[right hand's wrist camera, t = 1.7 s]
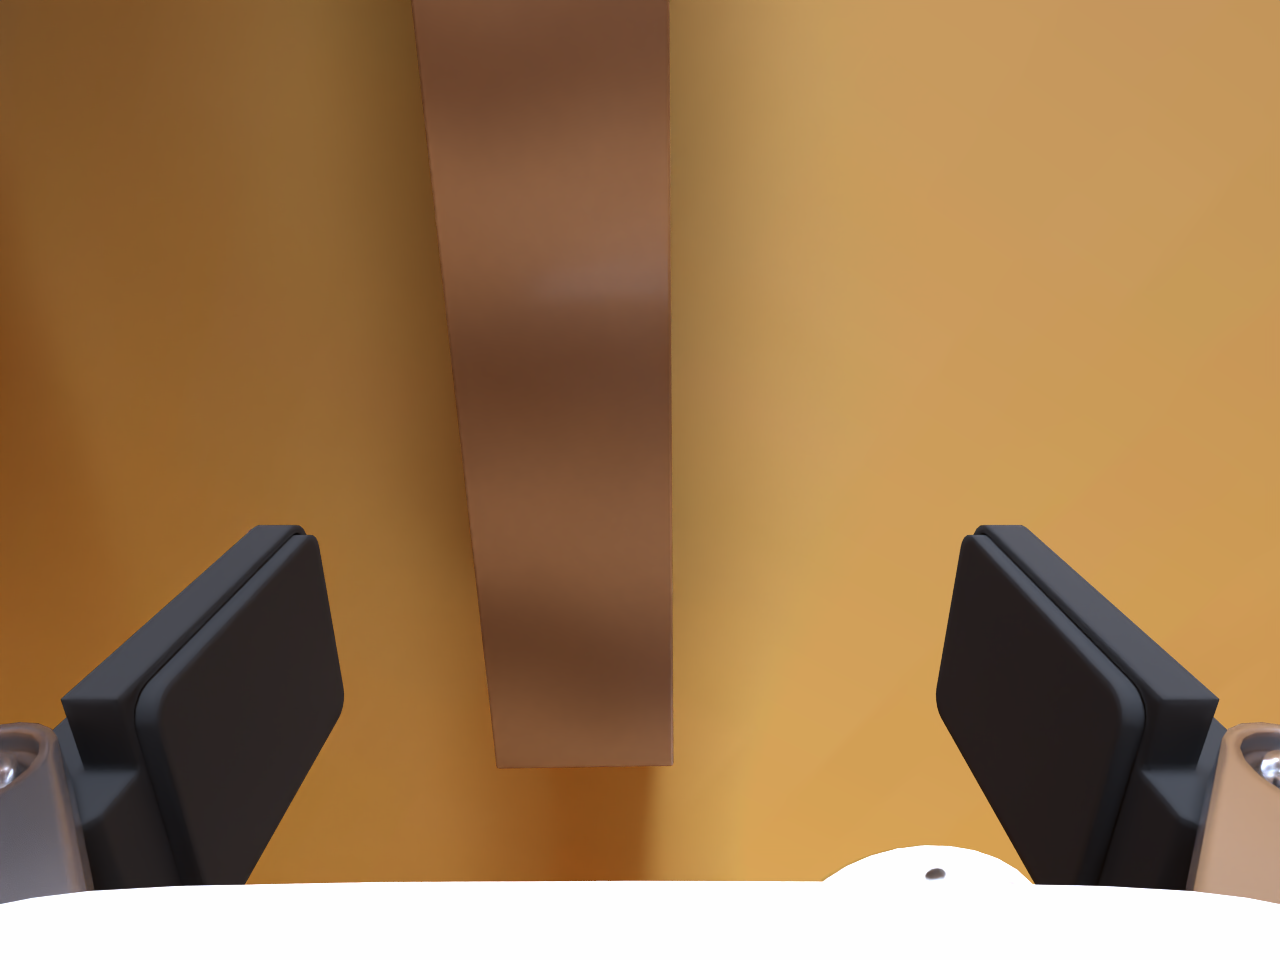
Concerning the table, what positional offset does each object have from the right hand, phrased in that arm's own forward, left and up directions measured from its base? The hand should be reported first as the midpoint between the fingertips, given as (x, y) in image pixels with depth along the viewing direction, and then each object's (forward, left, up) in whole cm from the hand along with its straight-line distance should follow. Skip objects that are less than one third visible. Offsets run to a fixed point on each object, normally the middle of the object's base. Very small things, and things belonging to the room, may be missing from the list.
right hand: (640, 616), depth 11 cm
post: (+16, +2, -17) cm, 23 cm away
